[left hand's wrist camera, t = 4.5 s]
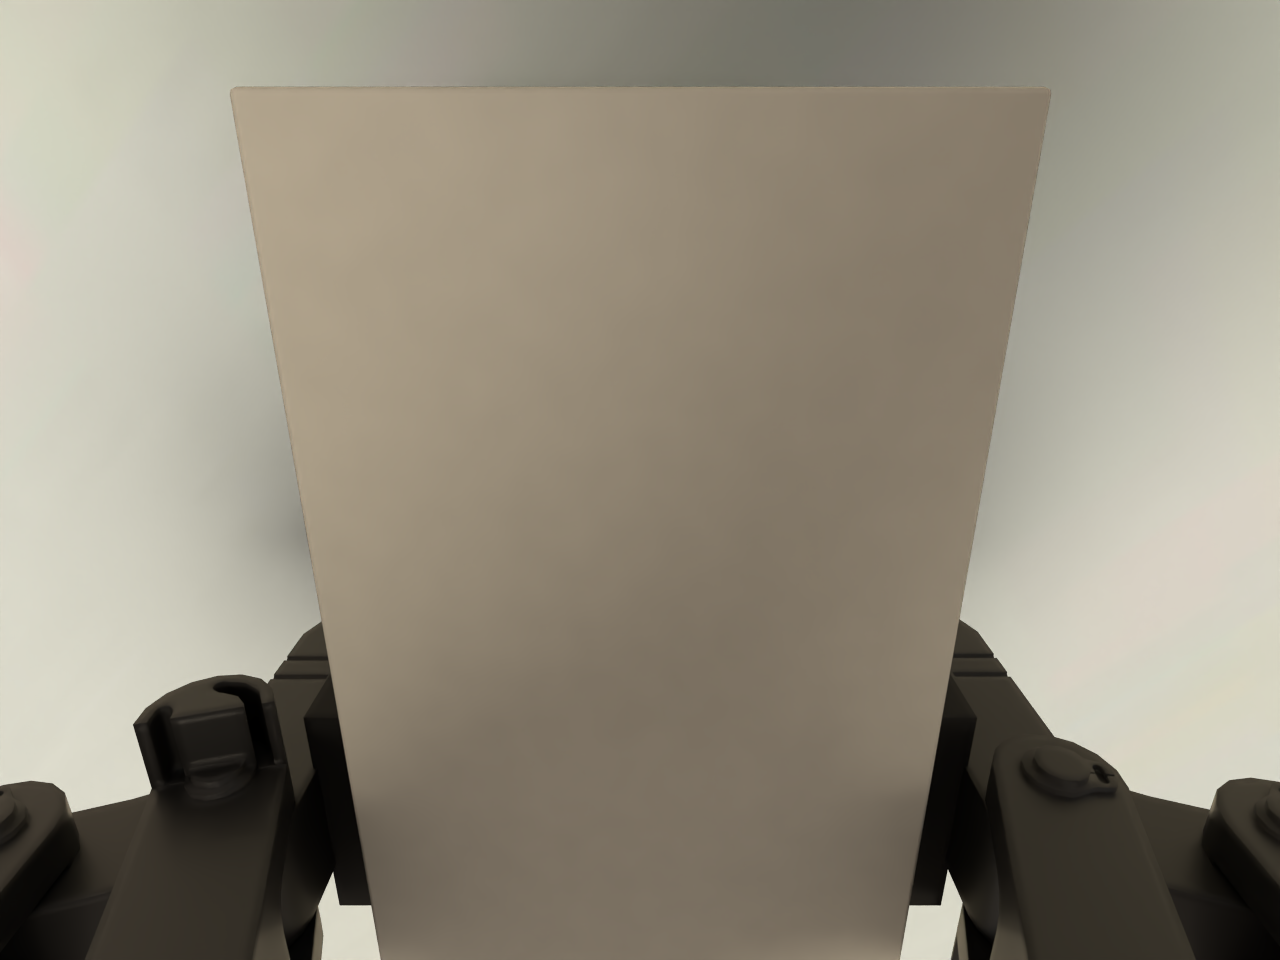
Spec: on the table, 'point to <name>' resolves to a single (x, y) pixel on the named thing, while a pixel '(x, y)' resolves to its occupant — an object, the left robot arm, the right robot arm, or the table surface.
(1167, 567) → the table surface
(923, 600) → the bar
